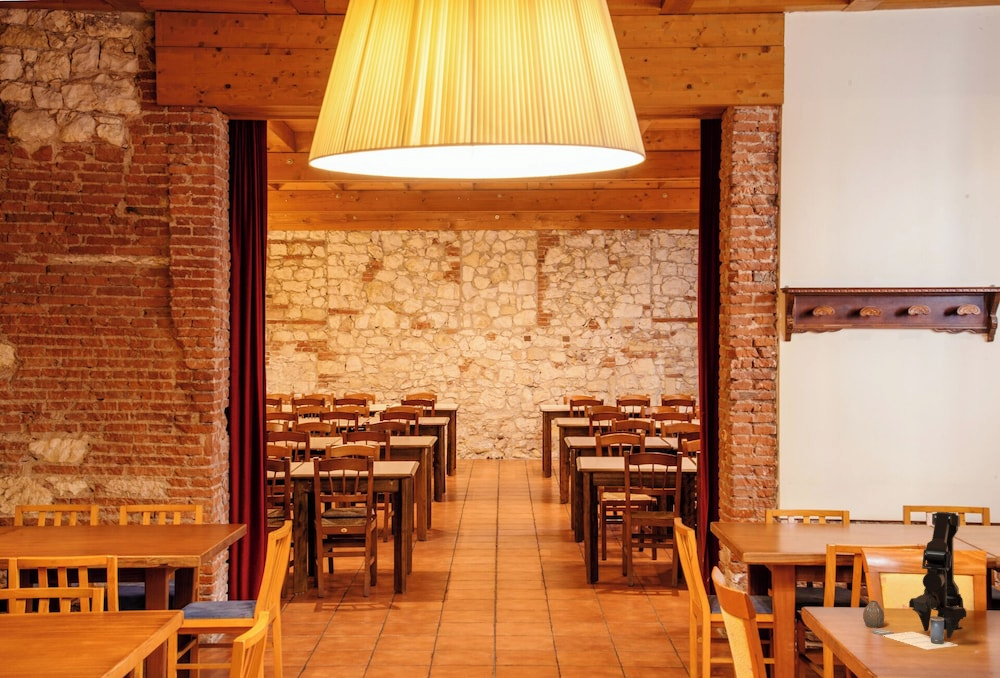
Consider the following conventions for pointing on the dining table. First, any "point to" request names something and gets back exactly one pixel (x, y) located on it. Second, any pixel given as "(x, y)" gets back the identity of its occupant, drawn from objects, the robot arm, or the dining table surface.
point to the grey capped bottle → (937, 630)
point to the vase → (873, 615)
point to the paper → (918, 640)
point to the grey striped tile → (882, 632)
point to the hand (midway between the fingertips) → (937, 634)
